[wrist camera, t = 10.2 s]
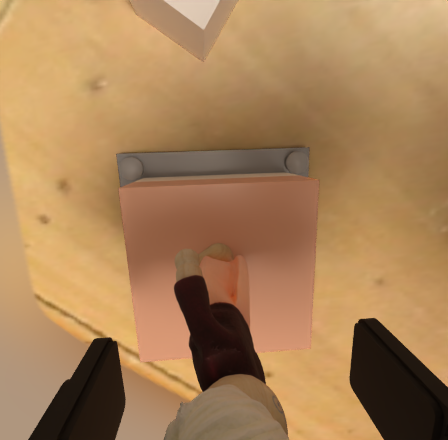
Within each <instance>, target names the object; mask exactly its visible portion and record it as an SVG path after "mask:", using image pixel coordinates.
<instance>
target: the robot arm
mask: <svg viewBox="0 0 448 440" xmlns="http://www.w3.org/2000/svg"><path fill="white" fill-rule="evenodd" d="M350 384H351V387H352V389H353V391H354V393H355V394H356V396H357V397H358V399H359V401H360V402H361V404H362V405H363V407H364V409H365V410H366V412H367V413H368V415H369V416H370V418H371V420H372V421H373V423H374V424H375V426H376V428H377V429H378V431H379V432H380V434H381V436H382V437H383V439H384V440H448V387H447V386H446V385H445V384H444V383H443V382H442V381H441V380H439V379H438V378H437V377H436V376H435V375H434V374H433V373H432V372H431V371H430V370H429V369H428V368H427V367H426V366H425V365H424V364H423V363H422V362H421V361H420V360H419V359H418V358H417V357H416V356H415V355H413V354H412V353H411V352H410V351H409V350H408V349H407V348H406V347H405V346H404V345H403V344H402V343H401V342H400V341H399V340H398V339H397V338H396V337H395V336H394V335H393V334H392V333H391V332H390V331H389V330H387V329H386V328H385V327H384V326H383V325H382V324H381V323H380V322H379V321H378V320H377V319H375V318H368V319H360V320H359V321H358V323H356V324H355V326H354V337H353V347H352V358H351V369H350ZM124 408H125V392H124V386H123V379H122V373H121V365H120V359H119V352H118V345H117V342H116V341H112V338H96V339H94V340H93V342H92V343H91V345H90V347H89V348H88V350H87V352H86V354H85V355H84V357H83V359H82V360H81V362H80V364H79V365H78V367H77V369H76V370H75V372H74V374H73V375H72V377H71V379H68V380H66V381H65V382H64V383H63V384H62V386H61V387H60V389H59V391H58V392H57V394H56V395H55V397H54V399H53V400H52V402H51V404H50V405H49V407H48V408H47V410H46V412H45V413H44V415H43V417H42V418H41V420H40V421H39V423H38V425H37V427H36V428H35V430H34V431H33V433H32V435H31V436H30V438H29V439H28V440H115V438H116V435H117V431H118V428H119V425H120V422H121V418H122V415H123V412H124Z"/></svg>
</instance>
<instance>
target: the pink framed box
mask: <svg viewBox="0 0 448 440" xmlns="http://www.w3.org/2000/svg"><path fill="white" fill-rule="evenodd" d="M116 155H117V163H118V171H119V179H120V188H118V190H119V198H120V205H121V213H122V221H123V229H124V237H125V245H126V253H127V261H128V268H129V276H130V284H131V292H132V300H133V308H134V316H135V324H136V331H137V339H138V347H139V355H140V362H149V361H162V360H174V359H187V358H192V352H191V350H190V348H189V337H190V332H189V329H188V326H187V323H186V320H185V318H184V315H183V313H182V311H181V309H180V306H179V304H178V302H177V299H176V296H175V292H174V285H175V283H176V271H177V269H176V266H175V257H176V255H177V253H178V252H179V251H181V250H182V249H192V250H194V251H195V252H196V253H197V254H200V253H201V252H203V251H204V250H205V249H207V248H208V247H210V246H211V245H213V244H216V243H222V244H225V245H226V246H228V247H229V248H230V249H231V251H232V253H233V256H234V258H235V257H236V256H237V255H242V256H243V257H244V258H245V260H246V262H247V264H248V273H249V297H250V333H251V336H252V340H253V344H254V349H255V352H256V353H261V352H274V351H286V350H299V349H311V333H312V313H313V293H314V273H315V254H316V234H317V214H318V195H319V180H317V179H313V178H309V177H308V171H309V147H307V148H277V149H247V150H217V151H188V152H158V153H128V154H116Z"/></svg>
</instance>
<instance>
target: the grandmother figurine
mask: <svg viewBox="0 0 448 440" xmlns="http://www.w3.org/2000/svg"><path fill="white" fill-rule="evenodd" d="M175 266H176V269H177V271H176V283H175V285H174V292H175V296H176V299H177V302H178V304H179V306H180V309H181V311H182V313H183V315H184V318H185V320H186V323H187V326H188V329H189V332H190V337H189V348H190V350H191V352H192V358H193V364H194V368H195V371H196V375H197V378H198V382H199V384H200V387H201V389H202V391H203V392H202V393H201V394H199V395H198V396H197V397H196V398H194V399H193V400H192V401H191V402H189V403H183V402H181V403H180V408H179V410H178V412H177V416H176V419H175V420H173V421H172V422H171V423H170V424H169V425H168V428H167V430H166V434H165V437H164V440H289V438H288V430H287V422H286V418H285V414H284V411H283V409H282V406H281V404H280V402H279V400H278V399H277V397H276V395H275V394H274V392H273V391H272V390H271V389H270V388H269V387H268V386H267V385H266V382H265V376H264V372H263V367H262V365H261V362H260V359H259V357H258V355H257V353H256V352H255V349H254V344H253V340H252V336H251V333H250V297H249V273H248V264H247V262H246V260H245V258H244V257H243V256H242V255H237V256H236V257H235V258H234V256H233V253H232V251H231V249H230V248H229V247H228V246H226V245H225V244H222V243H216V244H213V245H211V246H210V247H208V248H207V249H205V250H204V251H203V252H201V253H200V254H197V253H196V252H195V251H194V250H192V249H182V250H181V251H179V252H178V253H177V255H176V257H175Z"/></svg>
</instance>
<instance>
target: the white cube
mask: <svg viewBox="0 0 448 440" xmlns="http://www.w3.org/2000/svg"><path fill="white" fill-rule="evenodd" d="M130 2H131V4H132V6H133V8H134V11H135V13H136V15H138V16H139V17H141V18H142V19H143V20H145V21H146V22H148V23H149V24H151V25H152V26H153V27H155V28H156V29H158V30H159V31H160V32H162V33H163V34H165V35H166V36H167V37H169V38H170V39H172V40H173V41H174V42H176V43H177V44H179V45H180V46H182V47H183V48H184V49H186V50H187V51H189V52H190V53H191V54H193V55H194V56H196V57H197V58H198V59H200V60H201V61H203V62H204V61H205V59H206V57H207V55H208V54H209V52H210V50H211V48H212V46H213V45H214V43H215V41H216V39H217V37H218V36H219V34H220V32H221V30H222V28H223V27H224V25H225V23H226V21H227V20H228V18H229V16H230V14H231V12H232V11H233V9H234V7H235V5H236V3H237V2H238V0H130Z"/></svg>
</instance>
